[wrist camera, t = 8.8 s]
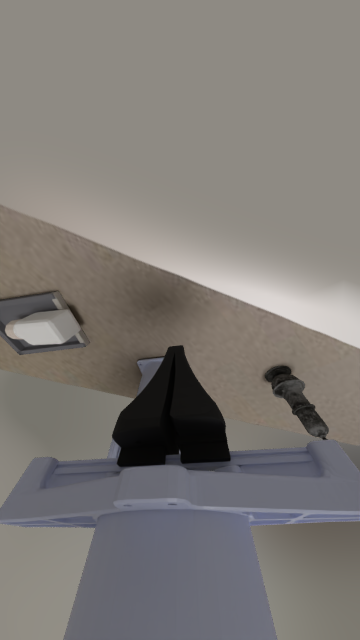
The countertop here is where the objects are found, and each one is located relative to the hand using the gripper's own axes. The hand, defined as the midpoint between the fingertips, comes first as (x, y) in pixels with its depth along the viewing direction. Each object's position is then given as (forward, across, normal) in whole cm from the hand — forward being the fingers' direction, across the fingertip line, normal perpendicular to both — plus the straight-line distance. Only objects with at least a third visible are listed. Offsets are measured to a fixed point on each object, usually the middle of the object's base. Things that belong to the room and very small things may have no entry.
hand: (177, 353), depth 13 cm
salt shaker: (+11, -19, +19) cm, 29 cm away
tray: (+10, +24, 0) cm, 26 cm away
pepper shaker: (+7, +16, -1) cm, 18 cm away
